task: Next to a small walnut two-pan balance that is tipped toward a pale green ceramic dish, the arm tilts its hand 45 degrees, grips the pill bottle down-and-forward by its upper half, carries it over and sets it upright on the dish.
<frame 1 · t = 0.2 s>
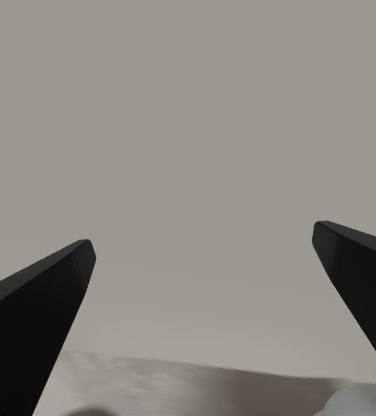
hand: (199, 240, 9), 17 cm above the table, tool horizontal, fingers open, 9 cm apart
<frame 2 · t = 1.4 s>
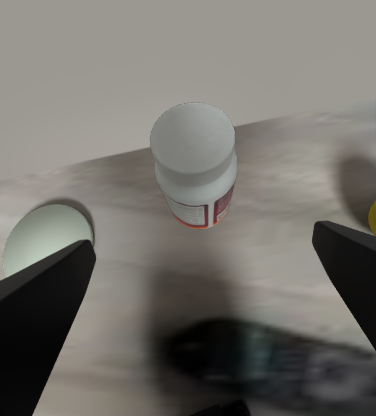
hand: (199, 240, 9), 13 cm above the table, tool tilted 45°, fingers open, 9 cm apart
dish: (53, 248, 24), on the table
pill bottle: (199, 203, 24), on the table
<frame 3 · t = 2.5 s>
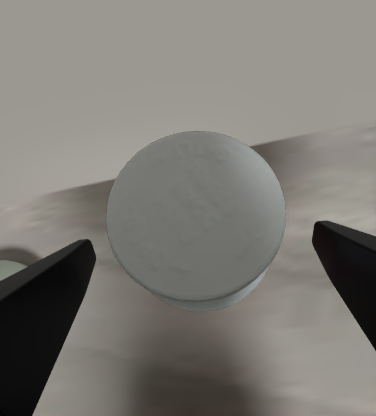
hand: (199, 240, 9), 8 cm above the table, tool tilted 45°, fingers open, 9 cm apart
pill bottle: (203, 258, 17), on the table
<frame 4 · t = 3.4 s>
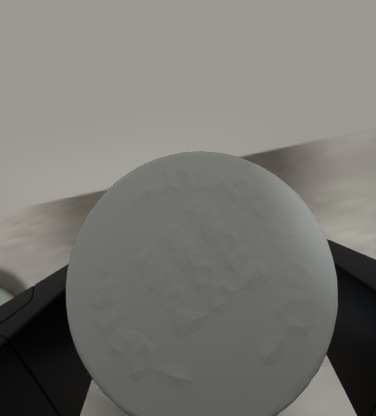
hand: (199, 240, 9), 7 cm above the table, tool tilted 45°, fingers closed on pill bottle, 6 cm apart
pill bottle: (205, 282, 15), on the table, touching gripper
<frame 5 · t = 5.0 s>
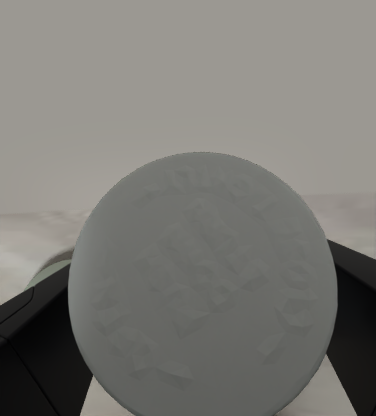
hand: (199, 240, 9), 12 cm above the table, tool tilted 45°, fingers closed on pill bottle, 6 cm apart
dish: (71, 311, 20), on the table
pill bottle: (206, 281, 15), point 6 cm above the table, touching gripper
when the fingers open (8 cm above the table, at t = 6.9 s): pill bottle stays where it is, resting on dish.
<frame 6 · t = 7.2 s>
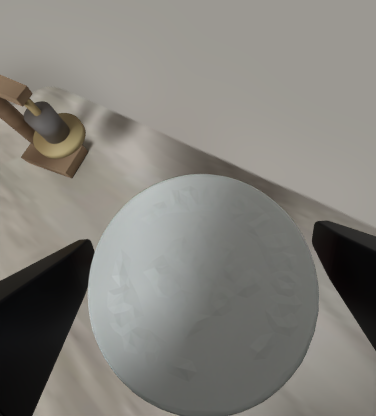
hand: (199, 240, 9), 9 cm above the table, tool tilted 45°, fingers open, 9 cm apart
balance: (58, 157, 22), on the table
pill bottle: (205, 284, 16), point 1 cm above the table, touching dish
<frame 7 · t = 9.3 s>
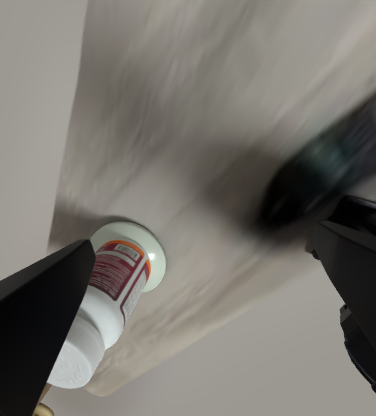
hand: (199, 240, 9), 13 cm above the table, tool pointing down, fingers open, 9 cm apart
dish: (129, 255, 26), on the table
pill bottle: (127, 260, 25), point 1 cm above the table, touching dish
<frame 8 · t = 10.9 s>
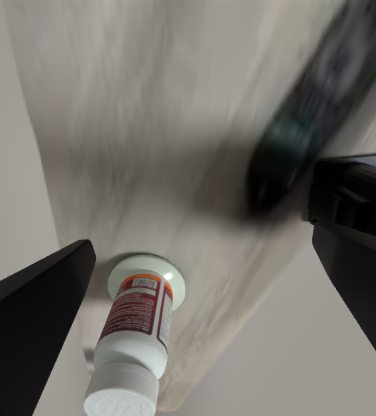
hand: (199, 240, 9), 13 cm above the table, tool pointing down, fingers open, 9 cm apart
dish: (148, 283, 27), on the table
pill bottle: (147, 288, 26), point 1 cm above the table, touching dish
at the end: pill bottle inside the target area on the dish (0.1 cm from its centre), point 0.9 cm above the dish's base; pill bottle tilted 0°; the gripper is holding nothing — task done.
